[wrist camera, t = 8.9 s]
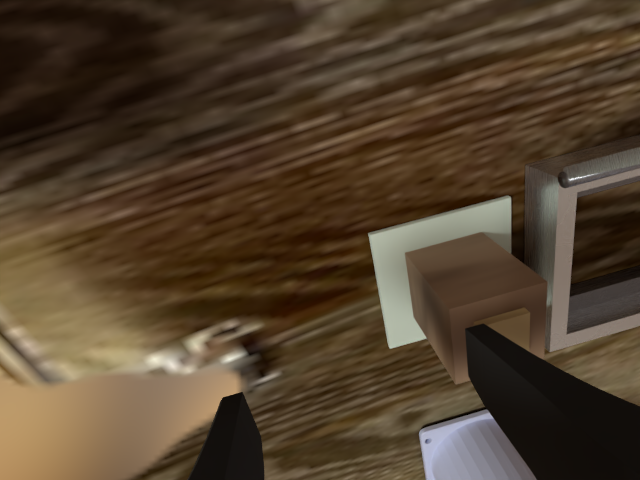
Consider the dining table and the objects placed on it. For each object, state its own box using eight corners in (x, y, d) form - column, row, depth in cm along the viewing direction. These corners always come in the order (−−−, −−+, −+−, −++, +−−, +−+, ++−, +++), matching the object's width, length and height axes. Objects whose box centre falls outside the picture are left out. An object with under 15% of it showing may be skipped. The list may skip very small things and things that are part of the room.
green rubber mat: (508, 311, 26) (511, 314, 25) (388, 345, 25) (389, 348, 25) (508, 195, 22) (511, 197, 22) (368, 233, 22) (369, 235, 21)
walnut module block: (484, 297, 24) (549, 364, 19) (413, 317, 24) (459, 390, 19) (481, 231, 22) (553, 286, 17) (404, 252, 22) (453, 314, 17)
